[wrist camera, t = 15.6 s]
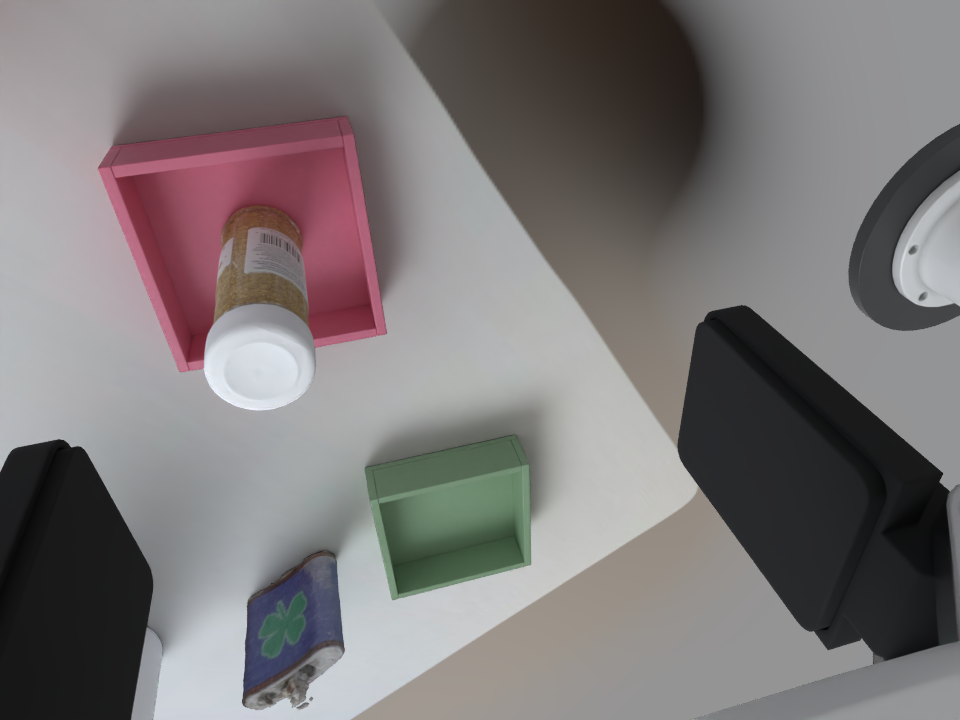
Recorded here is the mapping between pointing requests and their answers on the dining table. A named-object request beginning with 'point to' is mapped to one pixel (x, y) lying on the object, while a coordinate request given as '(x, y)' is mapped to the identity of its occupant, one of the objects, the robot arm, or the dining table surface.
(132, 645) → the robot arm
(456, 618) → the dining table surface
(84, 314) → the dining table surface
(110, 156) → the pink bin
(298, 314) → the sprinkles bottle
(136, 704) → the tall pillar cylinder
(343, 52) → the dining table surface
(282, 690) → the flask
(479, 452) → the green bin
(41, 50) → the dining table surface
